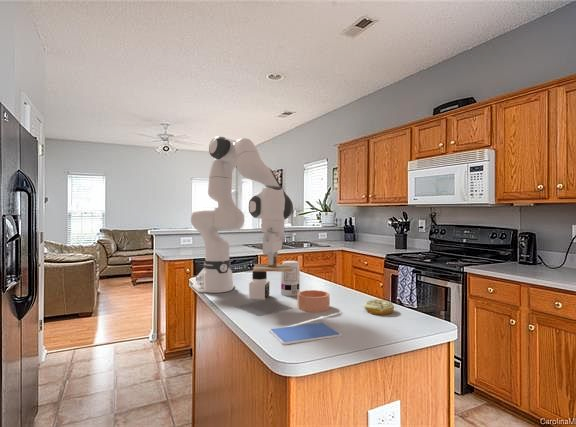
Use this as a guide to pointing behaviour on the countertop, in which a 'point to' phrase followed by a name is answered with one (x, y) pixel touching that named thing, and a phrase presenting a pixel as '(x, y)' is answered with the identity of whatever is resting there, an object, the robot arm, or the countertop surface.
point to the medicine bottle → (259, 286)
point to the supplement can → (290, 279)
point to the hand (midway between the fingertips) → (272, 263)
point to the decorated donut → (379, 307)
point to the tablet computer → (303, 333)
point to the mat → (263, 307)
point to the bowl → (313, 300)
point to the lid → (273, 267)
